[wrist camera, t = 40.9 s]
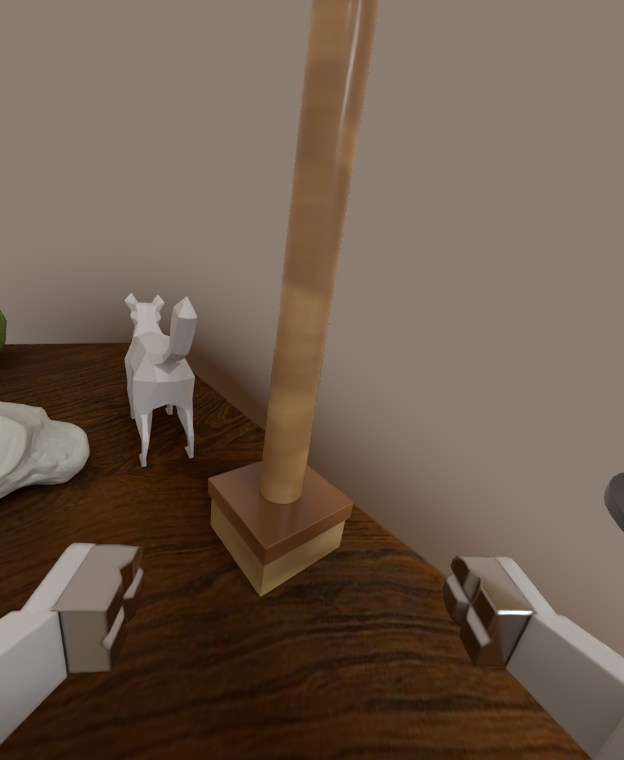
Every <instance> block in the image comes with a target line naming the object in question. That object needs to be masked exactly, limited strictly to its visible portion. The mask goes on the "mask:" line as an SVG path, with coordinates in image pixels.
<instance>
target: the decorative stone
mask: <svg viewBox="0 0 624 760" xmlns="http://www.w3.org/2000/svg"><path fill="white" fill-rule="evenodd" d="M89 454H90V453H89V444H88V439H87V435H86V433H85V431H84V430H82V429H81V428H80V427H78V426H76V425H74V424H71V423H65V422H60V421H53V420H52V421H51V420H50V419H49V418H48V416H47V414H46V412H45V411H44V409H42V408H40V407H32V406H28V405H24V404H15V403H5V402H0V498H2V497H4V496H6V495H7V494H9V493H10V492H12V491H14V490H17V489H18V488H20V487H24V486H29V485H34V484H41V485H55V484H60V483H65V482H67V481H69V480H70V479H71V478H72V477H73V476H74V475H76V474H77V473H78V472H79V471H80V470H81V469H82V468H83V467H84V465H85V463H86V461H87V459H88V457H89Z"/></svg>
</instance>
